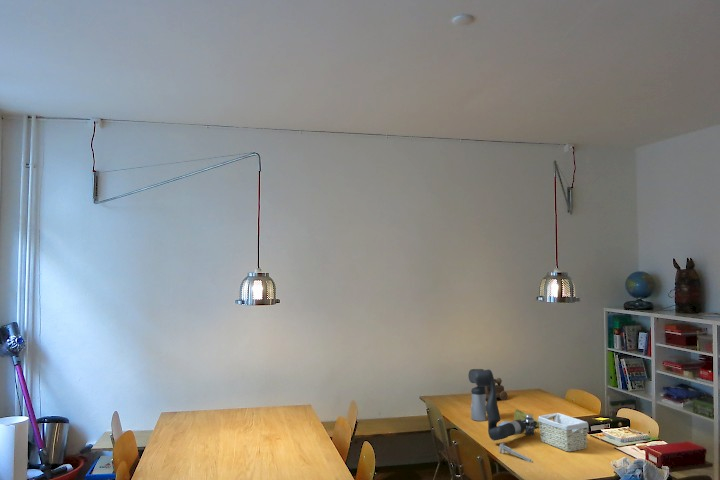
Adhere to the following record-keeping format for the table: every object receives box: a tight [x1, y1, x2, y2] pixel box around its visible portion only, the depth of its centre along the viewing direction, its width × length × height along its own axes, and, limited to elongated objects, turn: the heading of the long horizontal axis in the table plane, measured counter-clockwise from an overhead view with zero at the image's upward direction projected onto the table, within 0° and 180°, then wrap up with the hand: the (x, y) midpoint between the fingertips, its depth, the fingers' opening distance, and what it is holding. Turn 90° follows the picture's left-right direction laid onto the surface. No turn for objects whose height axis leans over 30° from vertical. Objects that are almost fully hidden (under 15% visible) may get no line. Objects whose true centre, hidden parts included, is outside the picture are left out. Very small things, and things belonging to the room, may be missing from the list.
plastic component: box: [513, 408, 539, 428], centre depth 344 cm, size 20×7×10 cm
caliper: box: [498, 441, 534, 463], centre depth 284 cm, size 20×1×6 cm, turn 39°
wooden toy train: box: [485, 377, 509, 401], centre depth 410 cm, size 20×11×17 cm, turn 112°
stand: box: [497, 420, 510, 426], centre depth 331 cm, size 10×10×4 cm
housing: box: [524, 413, 535, 436], centre depth 323 cm, size 5×5×11 cm
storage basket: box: [537, 412, 589, 452], centre depth 302 cm, size 24×16×15 cm
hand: (531, 422), depth 325 cm, fingers closed on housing, 5 cm apart
